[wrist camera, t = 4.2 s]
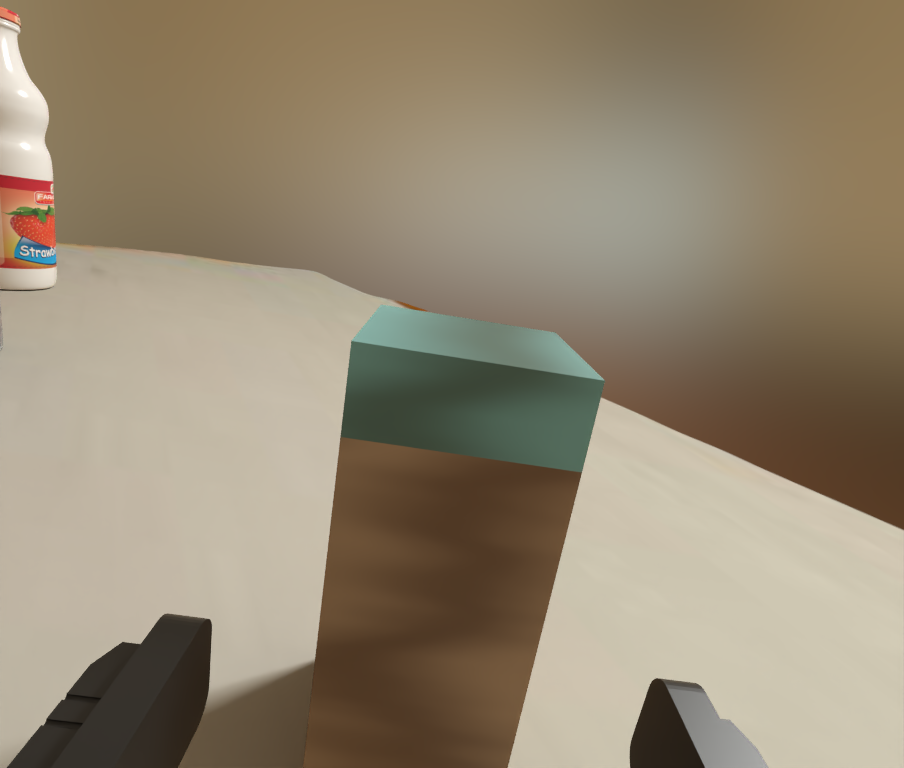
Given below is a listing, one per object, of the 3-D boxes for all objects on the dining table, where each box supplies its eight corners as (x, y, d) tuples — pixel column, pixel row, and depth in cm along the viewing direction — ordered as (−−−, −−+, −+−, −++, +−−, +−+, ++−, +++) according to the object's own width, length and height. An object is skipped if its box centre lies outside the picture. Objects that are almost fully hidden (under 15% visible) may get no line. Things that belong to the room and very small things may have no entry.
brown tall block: (299, 801, 14) (351, 341, 10) (337, 652, 18) (381, 304, 15) (493, 822, 14) (604, 380, 11) (481, 669, 19) (555, 332, 15)
